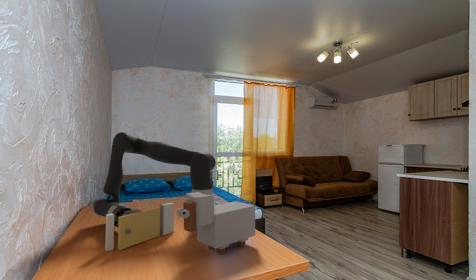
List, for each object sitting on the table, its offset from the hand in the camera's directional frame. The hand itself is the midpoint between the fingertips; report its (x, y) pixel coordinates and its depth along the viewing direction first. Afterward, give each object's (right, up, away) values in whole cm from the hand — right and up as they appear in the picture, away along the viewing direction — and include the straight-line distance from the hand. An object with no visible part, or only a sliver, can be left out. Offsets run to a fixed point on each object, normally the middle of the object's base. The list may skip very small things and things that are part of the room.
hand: (138, 223), depth 92 cm
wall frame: (+2, -7, +1) cm, 7 cm away
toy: (+30, -6, -9) cm, 32 cm away
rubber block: (-2, -6, +2) cm, 7 cm away
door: (+2, -6, -2) cm, 7 cm away
